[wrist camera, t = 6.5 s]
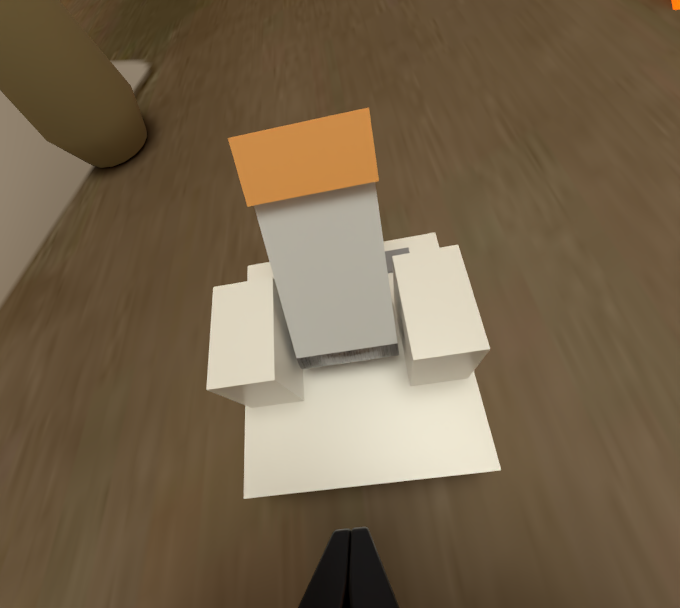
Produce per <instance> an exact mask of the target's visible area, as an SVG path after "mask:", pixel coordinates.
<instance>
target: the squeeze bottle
mask: <svg viewBox="0 0 680 608" xmlns="http://www.w3.org/2000/svg"><path fill="white" fill-rule="evenodd" d="M0 90H1V91H2V92H3V94H4V95H5V96H6V97H7V98H8V99H9V100H10V101H11V102H12V103H13V104H14V105H15V107H16V108H17V109H18V110H19V111H20V112H21V113H22V114H23V115H24V116H25V117H26V119H27V120H28V121H29V122H30V123H31V124H32V125H33V126H34V127H35V128H36V129H37V130H38V132H39V133H40V134H41V135H42V136H43V137H44V138H45V139H46V140H47V141H48V142H50V143H52V144H54V145H56V146H58V147H59V148H61V149H63V150H65V151H67V152H69V153H71V154H72V155H74V156H76V157H78V158H80V159H82V160H83V161H85V162H87V163H89V164H91V165H93V166H96V167H100V168H104V167H113V166H115V165H118V164H120V163H123V162H125V161H127V160H128V159H129V158H131V157H132V156H134V155H135V154H136V153H137V152H138V151H139V150H140V149H141V147H142V146H143V145H144V143H145V140H146V138H147V131H146V127H145V124H144V121H143V118H142V115H141V113H140V110H139V107H138V104H137V101H136V99H135V96H134V93H133V90H132V88H131V86H130V84H129V83H128V82H127V81H126V80H125V78H124V77H123V76H122V75H121V74H120V72H119V71H118V70H117V69H116V68H115V66H114V65H113V64H112V63H111V62H110V60H109V59H108V58H107V57H106V56H105V55H104V53H103V52H102V51H101V50H100V49H99V47H98V46H97V45H96V44H95V43H94V41H93V40H92V39H91V38H90V37H89V35H88V34H87V33H86V32H85V31H84V29H83V28H82V27H81V26H80V25H79V23H78V22H77V21H76V20H75V19H74V17H73V16H72V15H71V14H70V13H69V12H68V10H67V9H66V8H65V7H64V6H63V4H62V3H61V2H60V1H59V0H0Z"/></svg>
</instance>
